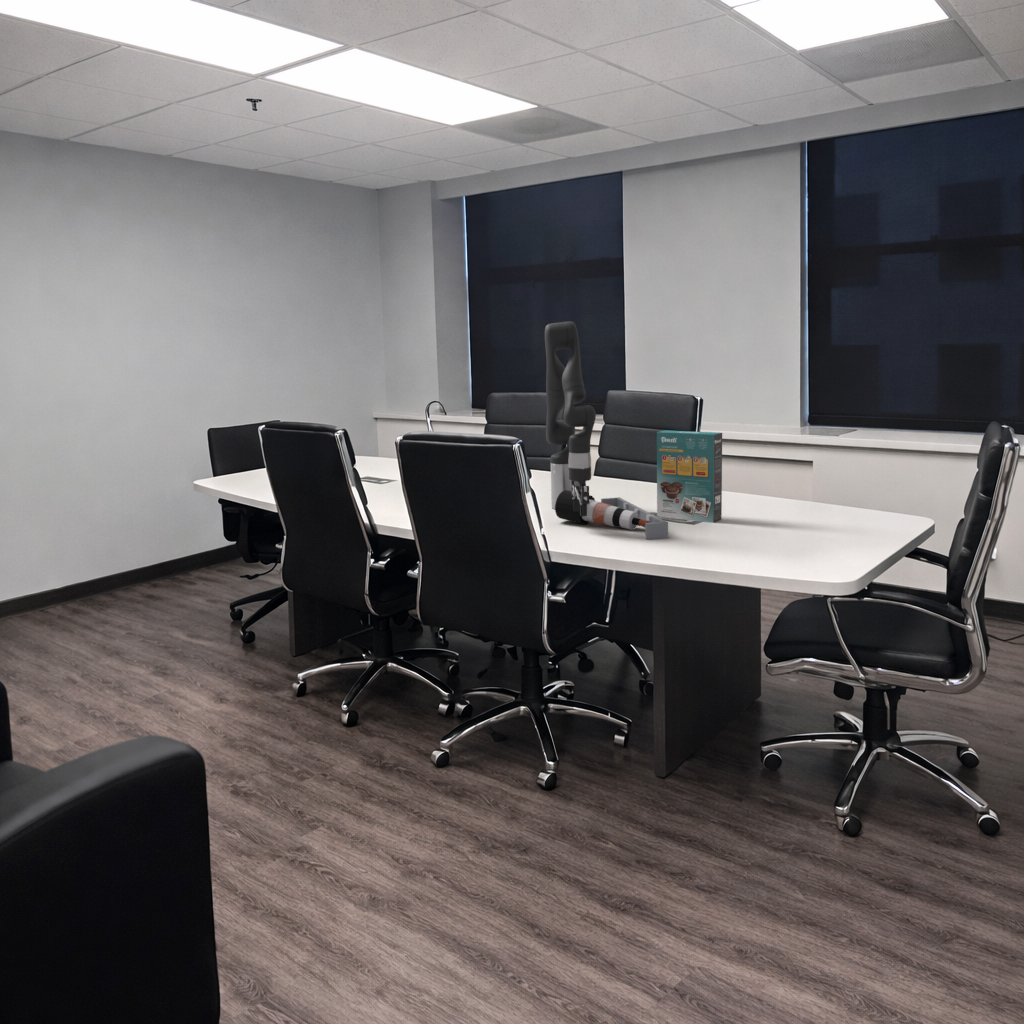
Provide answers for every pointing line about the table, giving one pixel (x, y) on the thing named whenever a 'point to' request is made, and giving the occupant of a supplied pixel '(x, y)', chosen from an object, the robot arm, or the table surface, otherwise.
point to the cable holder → (653, 528)
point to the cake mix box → (689, 475)
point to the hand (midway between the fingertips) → (580, 513)
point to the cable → (597, 513)
